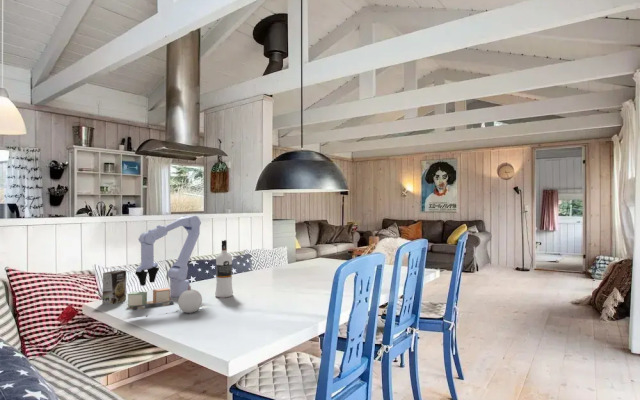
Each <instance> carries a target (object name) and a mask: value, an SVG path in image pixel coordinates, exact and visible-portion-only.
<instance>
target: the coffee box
mask: <svg viewBox="0 0 640 400" xmlns="http://www.w3.org/2000/svg"><path fill="white" fill-rule="evenodd" d="M126 300H127V270H116V269H115V270H111V271H107V272H102V304H103V305H115V304H118V303H121V302H124V301H126Z"/></svg>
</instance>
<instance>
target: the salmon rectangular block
mask: <svg viewBox="0 0 640 400" xmlns="http://www.w3.org/2000/svg"><path fill="white" fill-rule="evenodd" d="M152 301H153V302H154V303H159V302H165V301H171V296H170V288H169V287H164V288H157V289H156V288H155V289H152Z"/></svg>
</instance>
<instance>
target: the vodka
mask: <svg viewBox="0 0 640 400" xmlns="http://www.w3.org/2000/svg"><path fill="white" fill-rule="evenodd" d="M227 245H228V244H227V240H226V239H222V240H221V252H220V253H219V254H217V256H216V257H215V262H216V263H215V264H216V277H215V279H216V286H215V292H214V293H215V298H216V297H217V298H221V299H222V298H225V297H226V298H230V297H232V296H234V290H233V269H232V267H233V265H232V264H233V255H231V253H228V252H227V249H228V246H227ZM226 298H225V299H226Z"/></svg>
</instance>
